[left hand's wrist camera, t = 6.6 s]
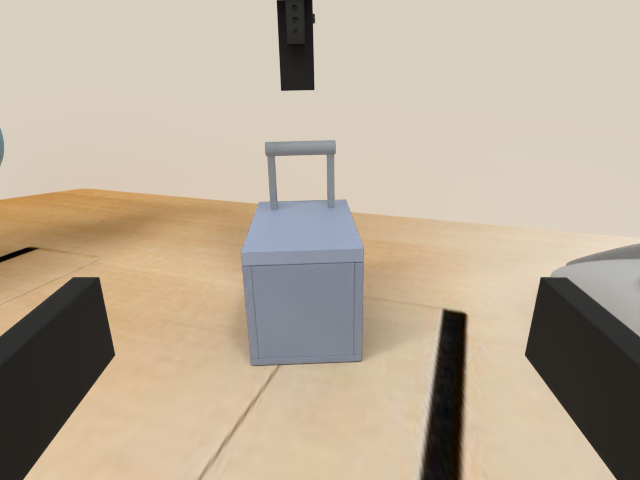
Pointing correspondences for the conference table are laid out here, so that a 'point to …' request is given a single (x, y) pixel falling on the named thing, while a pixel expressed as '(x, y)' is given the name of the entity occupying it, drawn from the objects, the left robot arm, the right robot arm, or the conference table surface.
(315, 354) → the chest
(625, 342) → the left robot arm
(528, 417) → the conference table surface
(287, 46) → the right robot arm
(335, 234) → the lid
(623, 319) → the projector
